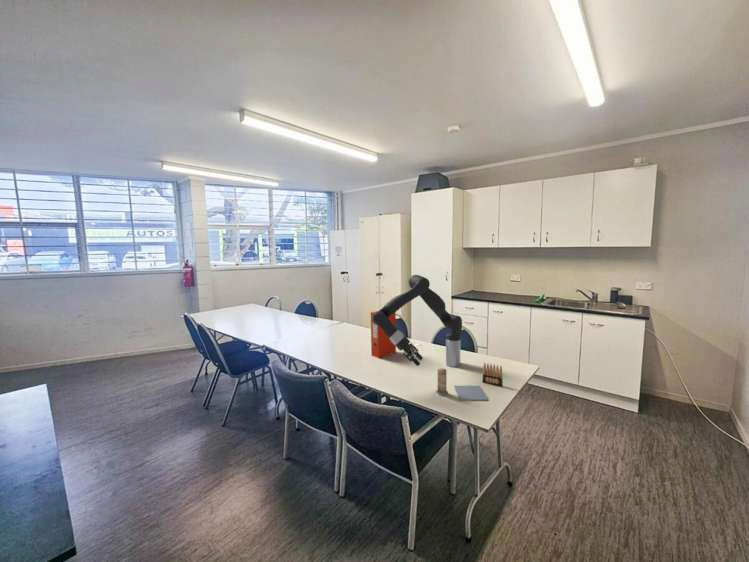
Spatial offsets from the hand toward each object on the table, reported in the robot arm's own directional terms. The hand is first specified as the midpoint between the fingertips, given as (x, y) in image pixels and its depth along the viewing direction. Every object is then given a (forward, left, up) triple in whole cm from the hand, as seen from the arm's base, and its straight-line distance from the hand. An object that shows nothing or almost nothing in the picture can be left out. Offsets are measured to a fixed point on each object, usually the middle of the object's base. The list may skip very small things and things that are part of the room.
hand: (420, 362), depth 172 cm
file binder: (-59, -21, -16) cm, 65 cm away
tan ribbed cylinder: (+3, +11, -16) cm, 20 cm away
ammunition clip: (-8, +41, -16) cm, 45 cm away
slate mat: (+3, +26, -16) cm, 31 cm away
